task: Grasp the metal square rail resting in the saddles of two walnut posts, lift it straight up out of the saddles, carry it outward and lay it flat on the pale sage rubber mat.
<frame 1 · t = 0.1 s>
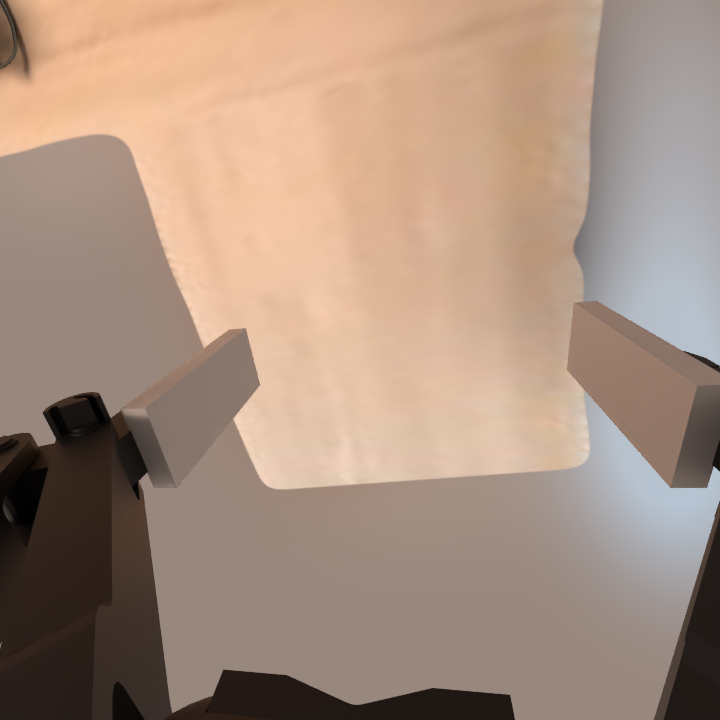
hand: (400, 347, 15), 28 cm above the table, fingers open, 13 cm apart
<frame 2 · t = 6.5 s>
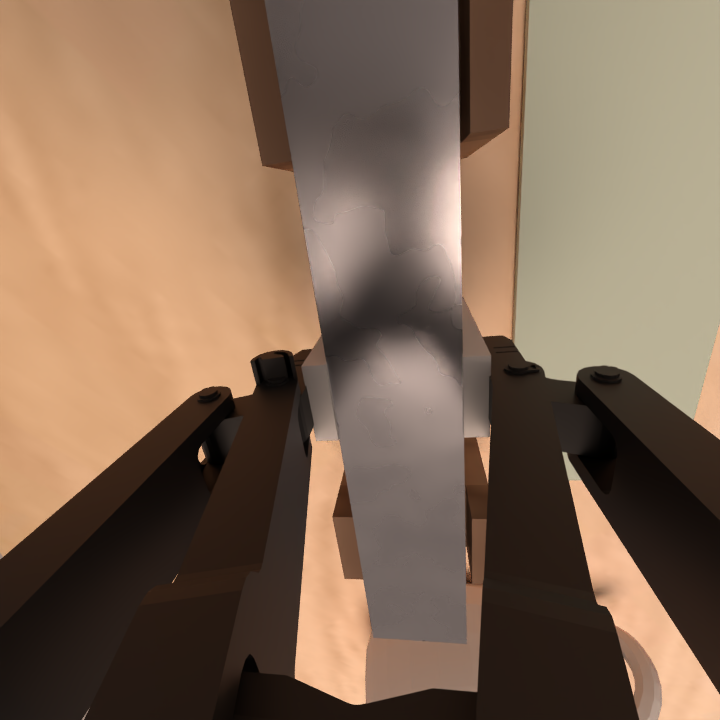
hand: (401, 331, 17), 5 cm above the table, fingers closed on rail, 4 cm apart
rail: (400, 349, 15), point 7 cm above the table, touching gripper, rack
rack: (404, 303, 21), on the table
mat: (614, 286, 20), on the table
mug: (487, 624, 32), on the table
when the fingers open (1 cm above the table, at t = 13.3 s): rail drops 3 cm, resting on mat.
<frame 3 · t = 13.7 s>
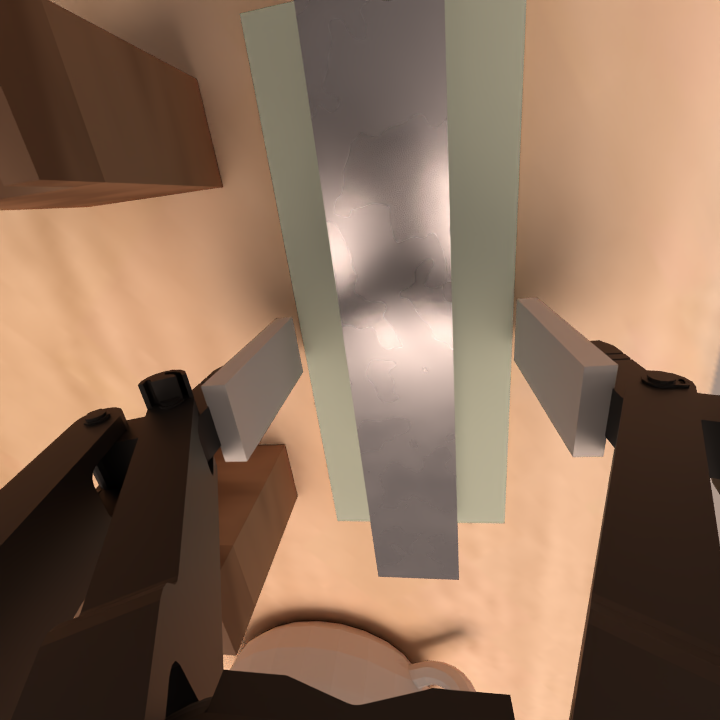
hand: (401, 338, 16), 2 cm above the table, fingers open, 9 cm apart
rail: (401, 326, 18), resting on mat
rack: (197, 338, 20), on the table
mat: (402, 323, 18), on the table
mug: (356, 661, 31), on the table
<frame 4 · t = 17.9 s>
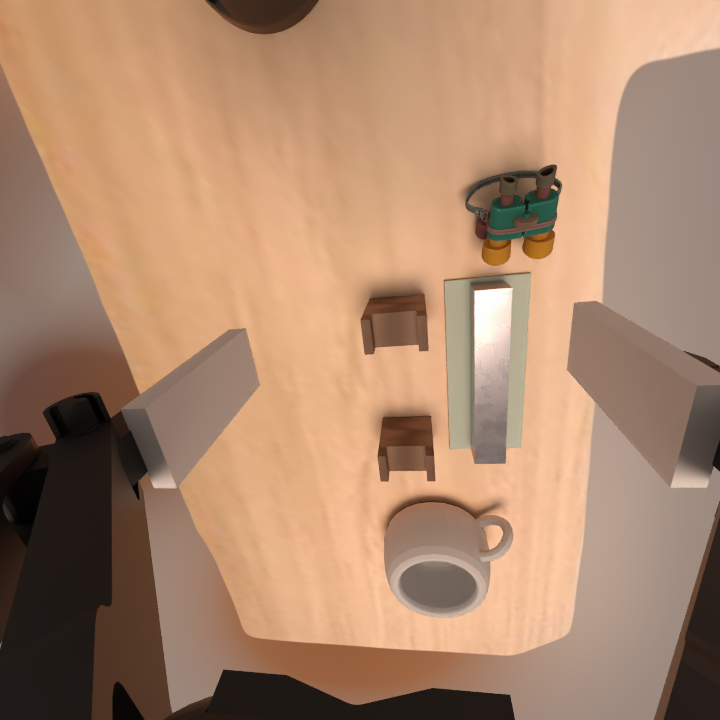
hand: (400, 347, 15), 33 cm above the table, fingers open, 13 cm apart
rail: (485, 371, 49), resting on mat
rack: (403, 374, 52), on the table
mat: (485, 369, 50), on the table
binoculars: (505, 215, 42), on the table
mug: (445, 526, 63), on the table
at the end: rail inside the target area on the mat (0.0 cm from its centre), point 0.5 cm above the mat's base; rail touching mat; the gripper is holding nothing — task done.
